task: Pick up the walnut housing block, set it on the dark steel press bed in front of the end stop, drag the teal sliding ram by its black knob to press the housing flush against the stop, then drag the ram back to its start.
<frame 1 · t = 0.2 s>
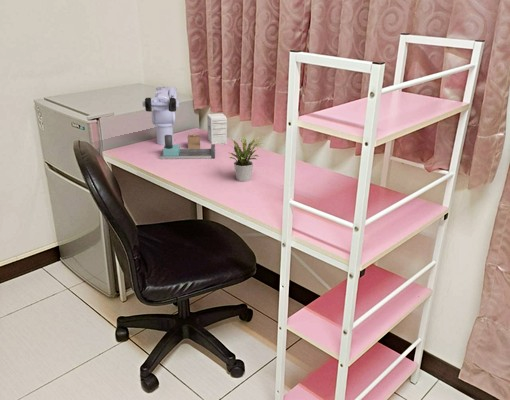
hand: (159, 108, 196), 21 cm above the table, tool horizontal, fingers open, 7 cm apart
house plant: (247, 179, 186), on the table
supplement box: (217, 143, 225), on the table
housing: (194, 149, 216), on the table
ram: (171, 145, 205), point 5 cm above the table, slide at 0.0 cm
press bed: (188, 157, 207), on the table
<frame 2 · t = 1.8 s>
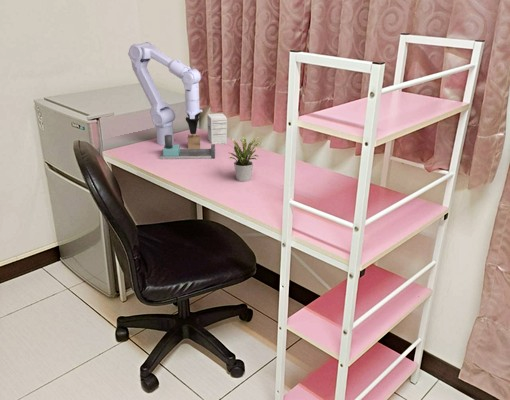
hand: (193, 131, 213), 8 cm above the table, tool pointing down, fingers open, 7 cm apart
nothing on the table moved.
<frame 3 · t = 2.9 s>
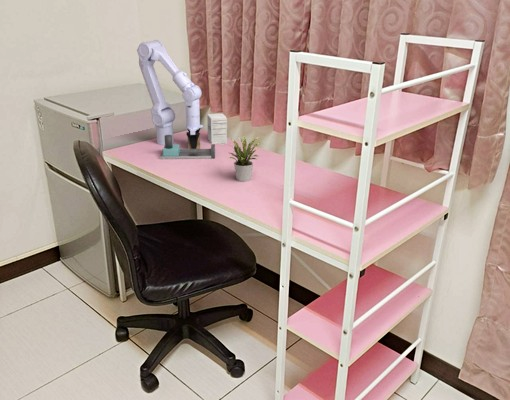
hand: (194, 146, 216), 1 cm above the table, tool pointing down, fingers closed on housing, 5 cm apart
housing: (194, 149, 216), on the table, touching gripper
everything else where it was.
when the fingers open (4 cm above the table, at t = 6.3 s): housing drops 1 cm, resting on press bed.
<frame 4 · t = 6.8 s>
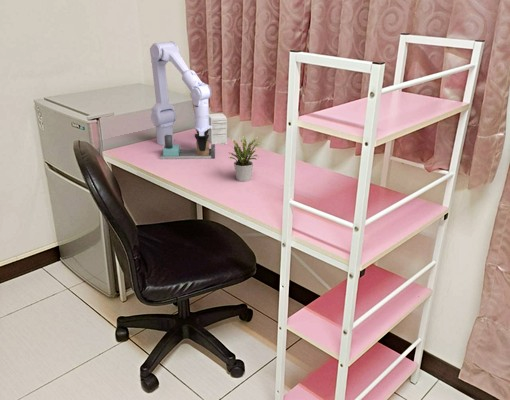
hand: (202, 147, 206), 4 cm above the table, tool pointing down, fingers open, 7 cm apart
housing: (203, 154, 207), point 1 cm above the table, touching press bed
everything else where it was.
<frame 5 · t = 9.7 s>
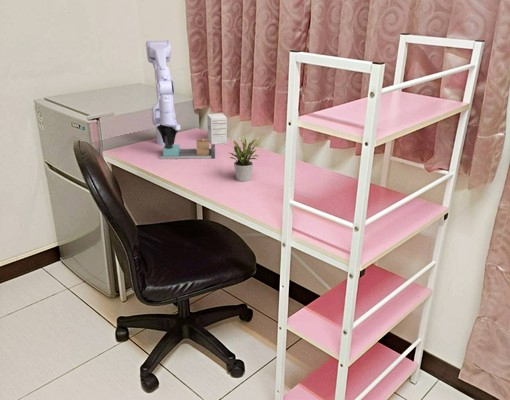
hand: (168, 143, 204), 6 cm above the table, tool pointing down, fingers closed on ram, 3 cm apart
ram: (171, 145, 205), point 5 cm above the table, slide at 0.0 cm, touching gripper
everything else where it was.
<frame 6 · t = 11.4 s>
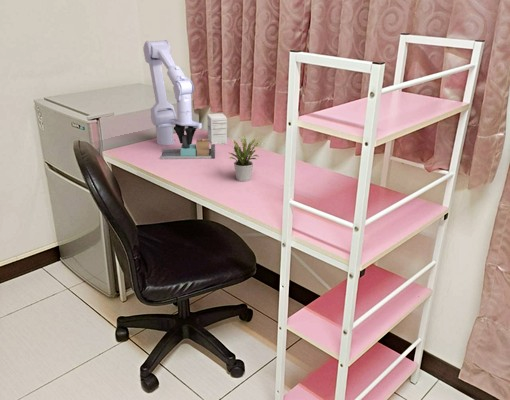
hand: (185, 143, 205), 6 cm above the table, tool pointing down, fingers closed on ram, 3 cm apart
ram: (188, 145, 205), point 5 cm above the table, slide at 7.0 cm, touching gripper
everything else where it was.
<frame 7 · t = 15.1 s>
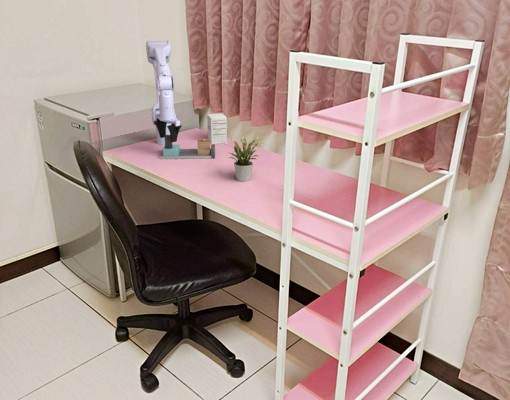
hand: (168, 139, 204), 8 cm above the table, tool pointing down, fingers open, 7 cm apart
ram: (171, 145, 205), point 5 cm above the table, slide at 0.0 cm
everything else where it was.
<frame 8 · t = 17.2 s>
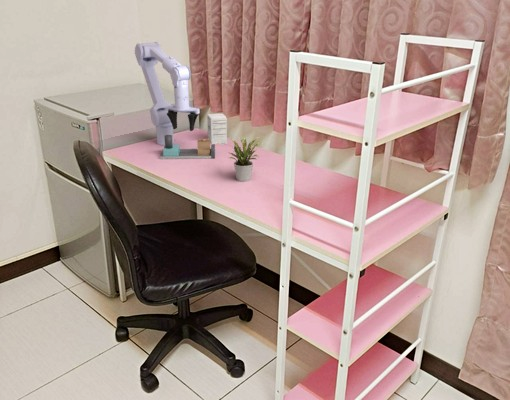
hand: (183, 129, 207), 10 cm above the table, tool pointing down, fingers open, 7 cm apart
nothing on the table moved.
at the end: housing 0.6 cm from the target spot, point 1.0 cm above the table; housing tilted 0°; ram slide at 0.0 cm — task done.
